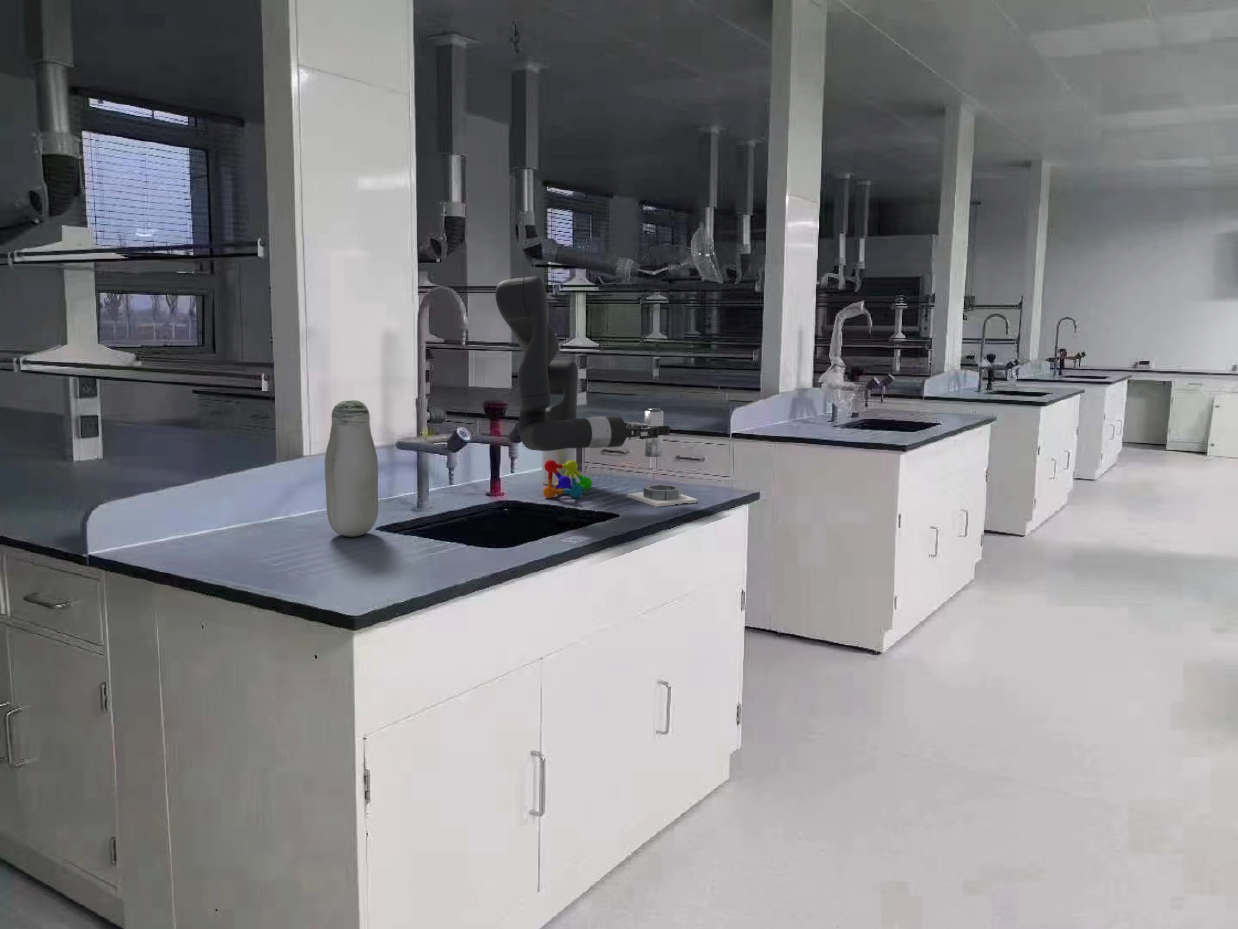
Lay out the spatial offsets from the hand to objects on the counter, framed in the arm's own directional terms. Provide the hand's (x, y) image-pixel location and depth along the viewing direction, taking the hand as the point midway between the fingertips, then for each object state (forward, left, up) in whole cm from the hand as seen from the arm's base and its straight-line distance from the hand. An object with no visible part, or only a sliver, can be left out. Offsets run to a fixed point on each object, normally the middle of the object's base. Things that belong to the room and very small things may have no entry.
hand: (663, 428), depth 240 cm
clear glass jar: (0, -3, -6) cm, 7 cm away
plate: (0, 0, -18) cm, 18 cm away
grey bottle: (+4, -78, -18) cm, 80 cm away
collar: (0, 0, -18) cm, 18 cm away
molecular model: (-15, -19, -18) cm, 30 cm away
